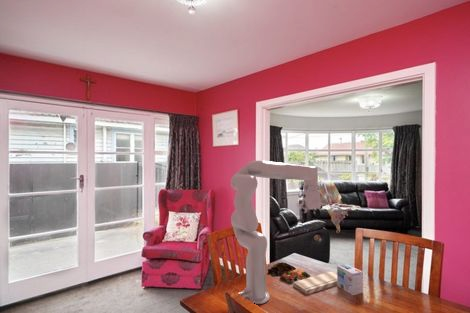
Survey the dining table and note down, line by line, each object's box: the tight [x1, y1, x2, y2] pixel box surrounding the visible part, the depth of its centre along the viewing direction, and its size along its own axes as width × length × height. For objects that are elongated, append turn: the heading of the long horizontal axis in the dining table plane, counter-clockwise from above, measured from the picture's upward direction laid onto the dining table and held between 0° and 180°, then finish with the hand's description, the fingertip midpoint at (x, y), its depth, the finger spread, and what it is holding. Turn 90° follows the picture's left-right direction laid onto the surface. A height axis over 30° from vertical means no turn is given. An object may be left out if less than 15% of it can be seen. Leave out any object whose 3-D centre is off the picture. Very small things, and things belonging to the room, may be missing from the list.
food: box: [267, 262, 310, 284], centre depth 150 cm, size 22×19×4 cm
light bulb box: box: [336, 263, 364, 296], centre depth 131 cm, size 11×7×11 cm, turn 21°
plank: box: [292, 270, 337, 295], centre depth 137 cm, size 28×10×2 cm, turn 117°
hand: (311, 218), depth 144 cm, fingers open, 9 cm apart
